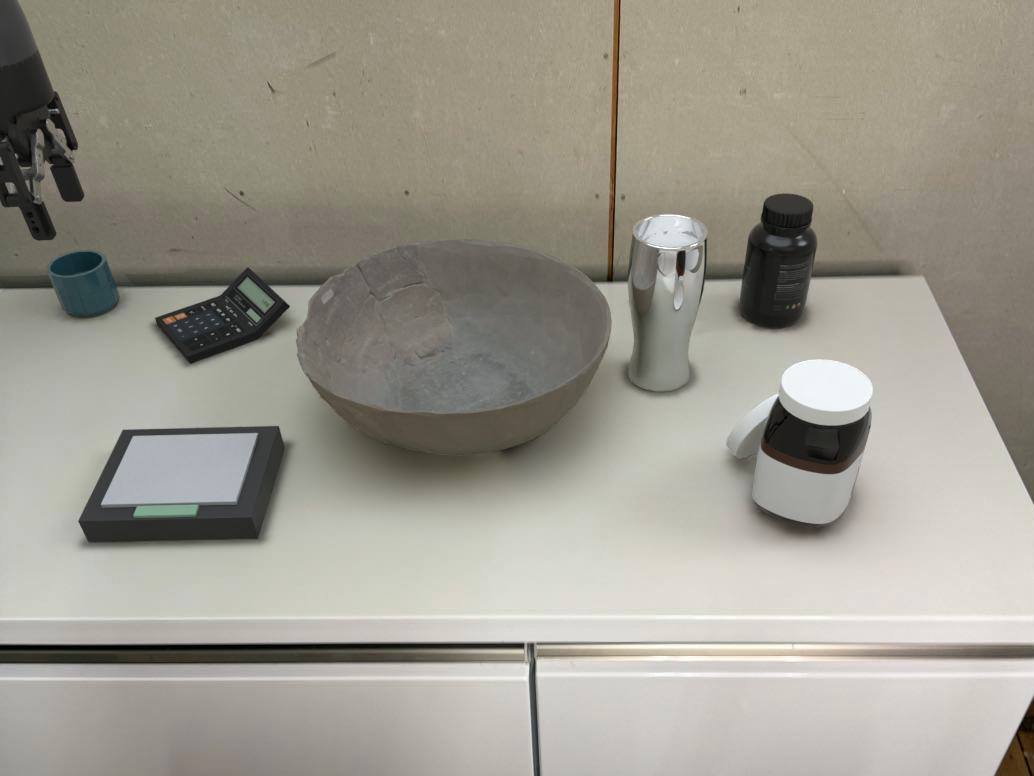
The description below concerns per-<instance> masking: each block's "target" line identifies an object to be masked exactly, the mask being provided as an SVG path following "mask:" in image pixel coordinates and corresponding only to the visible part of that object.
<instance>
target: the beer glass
mask: <svg viewBox="0 0 1034 776" xmlns="http://www.w3.org/2000/svg"><path fill="white" fill-rule="evenodd" d="M631 231H632V234H631V235H632V236H631V241H630V242H631V244H630V248H629V255H628V256H629V257H628V265H627V266H628V268H627V293H628V294H627V295H628V304H629V310H630V318H631V324H632V331H633V346H632V352H631V355H630V359H629V363H628V369H627V376H628V378H629V380H630V381H631V382H632V383H633V384H634V385H635V386H636V387H638V388H640V389H643V390H646V391H649V392H655V393H656V392H657V393H660V392H661V393H662V392H663V393H664V392H671V391H675V390H677V389H680V388H682V387H683V386H685V385H686V384H687V383H688V381H689V380H690V378H691V367H690V359H689V348H690V340H691V336H692V332H693V329H694V325H695V322H696V319H697V316H698V312H699V310H700V306H701V302H702V298H703V294H704V290H705V283H706V277H707V263H708V262H707V260H708V234H709V231H708V227H707V226H706V225H705V224H704V223H703V222H701V220H698V219H697V218H694V217H692V216H688V215H683V214H680V213H679V214H677V213H659V214H653V215H649V216H646V217H643V218H642V219H640V220H638V221H637V222H636V223H635V224H634V225H633V227H632V230H631Z"/></svg>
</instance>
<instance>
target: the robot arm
mask: <svg viewBox="0 0 1034 776" xmlns="http://www.w3.org/2000/svg"><path fill="white" fill-rule="evenodd" d="M59 130H61V131H62V134H63V135H62V134H61V133H60V131H59ZM74 132H75V131H74V130H73V127H72V124H71V122H70V120H69V117H68V114H67V112H66V110H65V107H64V105H63V102H62V100H61V97H60V94H59V93H58V92H57V91H56V90H55V91H54V89H53V85H52V83H51V80H50V77H49V74H48V72H47V69H46V66H45V64H44V61H43V58H42V55H41V52H40V50H39V48H38V45H37V42H36V39H35V37H34V34H33V31H32V28H31V26H30V23H29V21H28V18H27V16H26V14H25V12H24V10H23V8H22V6H21V4H20V2H19V0H0V203H1V206H2V207H3V208H18V209H19V210H20V212H21V214H22V216H23V219H24V221H25V223H26V226H27V228H28V230H29V233H30V235H31V237H32V238H33V239H34V240H35V241H53V240H54V239H55V238H56V237H57V231H56V228H55V226H54V223H53V220H52V218H51V216H50V214H49V211H48V209H47V206H46V204H45V202H44V201H43V198H42V188H41V187H42V186H41V182H42V181H43V180H44V179H45V177H46V176H45V175H46V174H45V163H47V164H48V165H50V167H49V170H50V172H51V175H52V178H53V180H54V182H55V185H56V187H57V190H58V192H59V195H60V197H61V200H62V201H64V202H66V203H78V202H82V201H83V200H84V199H85V192H84V190H83V187H82V185H81V181H80V179H79V177H78V173H77V171H76V168H75V166H74V164H75V161H76V160H75V159H76V158H75V154H74V153H73V151H78V150H79V142H78V141H77V138H76V135H75V133H74ZM21 168H23V169H21ZM24 168H25V169H24ZM26 181H28V184H29V188H28V185H27V182H26ZM7 184H8V186H9V187H8V186H7ZM8 188H9V189H8Z"/></svg>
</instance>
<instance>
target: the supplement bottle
mask: <svg viewBox="0 0 1034 776" xmlns="http://www.w3.org/2000/svg"><path fill="white" fill-rule="evenodd" d="M813 213H814V203H813V202H812V200H810V199H809V198H808V197H806V196H803V195H800V194H795V193H790V192H789V193H787V192H786V193H785V192H784V193H783V192H782V193H776V194H772V195H769V196H767V197H766V198H765V199H764V200H763V206H762V211H761V214H760V222H758V223H757V224H756V225H754V226H753V227H752V229H750V231H749V233H748V237H747V244H746V249H745V256H744V264H743V272H742V279H741V285H740V286H741V287H740V293H739V300H738V301H739V302H738V309H739V312H740V314H741V315H742V317H743V318H744V319H746V320H747V321H748V322H749V323H752V324H754V325H757V326H759V327H765V328H785V327H788V326H791V325H793V324H796V323H797V322H798V321H799V320H801V318H803V315H804V313H805V310H806V304H807V300H808V295H809V291H810V285H811V280H812V274H813V269H814V263H815V258H816V254H817V249H818V237H817V234H816V232H815V231H814V229H813V228H812V227H811V226H812V222H813Z"/></svg>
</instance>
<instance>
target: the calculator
mask: <svg viewBox="0 0 1034 776" xmlns="http://www.w3.org/2000/svg"><path fill="white" fill-rule="evenodd" d="M290 308H291V306H290V305H289V303H287V301H285V300H284V298H282V297H281V296H280V295H279V294H278V293H277V292H276V291H275V290H274V289H272V288H271V287H270V286H269V285H268V284H267V283H266V282H265V281H264V280H263V279H262V278H261V277H259V276H258V275H257V274H256V273H255V271H254V270H252V269H251V268H249V266H247V267H246V268H245V269H244V271H242V272H241V274H239V275H238V276H237V277H236V279H234V280H233V281H232V282H231V284H230V285H229V286H228V287H227V288H226V289H225V290H224V291H223V292H222V293H221V294H220V295H217V296H214V297H211V298H209V299H206V300H202V301H200V302H197V303H194V304H191V305H187V306H185V307H183V308H180V309H179V308H178V309H176V310H173V311H170V312H168V313H165V314H162V315H159V316H157V317H154V321H155V324H156V326H158V328H159V329H160V330H161V331H162V332H163V334H164V335H165V336H166V337H167V339H168V340H169V341H170V342H171V343H172V344H173V345H174V347H175V348H176V349H177V350H178V351H179V353H181V355H182V356H183V357H184V358H185V360H186V361H188V363H189V364H190V365H191V364H194V363H196V362H199V361H202V360H204V359H207V358H209V357H212V356H215V355H217V354H220V353H224V352H226V351H228V350H232V349H234V348H237V347H239V346H242V345H245V344H248V343H250V342H253V341H256V340H259V339H260V337H262V336H263V335H264V334H265V332H266V331H268V330H269V329H270V327H272V326H273V325H274V324H275V322H277V321H278V320H279V319H280V317H282V316H283V315H284V314H285V313H286V312H287V311H288V310H289V309H290Z"/></svg>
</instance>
